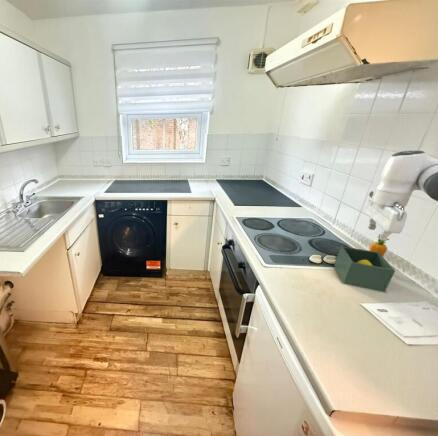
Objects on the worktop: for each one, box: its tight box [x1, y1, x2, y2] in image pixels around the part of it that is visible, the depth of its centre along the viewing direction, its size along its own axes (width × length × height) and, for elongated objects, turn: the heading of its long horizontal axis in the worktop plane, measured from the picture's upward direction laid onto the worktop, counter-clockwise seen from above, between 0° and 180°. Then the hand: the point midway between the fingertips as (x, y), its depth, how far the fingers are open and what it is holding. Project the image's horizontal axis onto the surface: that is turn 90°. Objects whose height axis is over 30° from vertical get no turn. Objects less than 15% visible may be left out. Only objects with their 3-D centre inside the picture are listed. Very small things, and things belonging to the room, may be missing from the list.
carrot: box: [368, 237, 390, 257], centre depth 100 cm, size 5×5×15 cm
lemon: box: [357, 260, 373, 266], centre depth 94 cm, size 6×6×8 cm
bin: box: [333, 246, 396, 293], centre depth 94 cm, size 13×14×10 cm
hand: (376, 234), depth 88 cm, fingers open, 8 cm apart
